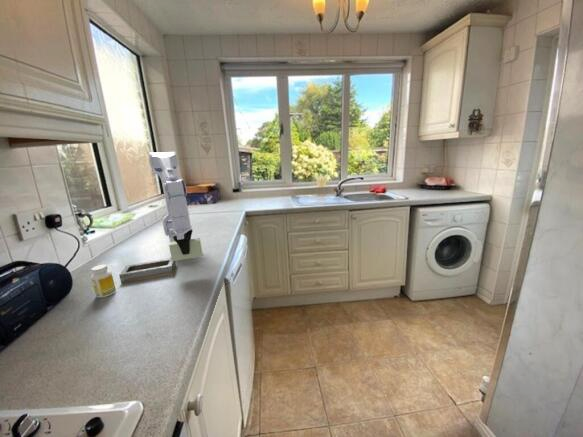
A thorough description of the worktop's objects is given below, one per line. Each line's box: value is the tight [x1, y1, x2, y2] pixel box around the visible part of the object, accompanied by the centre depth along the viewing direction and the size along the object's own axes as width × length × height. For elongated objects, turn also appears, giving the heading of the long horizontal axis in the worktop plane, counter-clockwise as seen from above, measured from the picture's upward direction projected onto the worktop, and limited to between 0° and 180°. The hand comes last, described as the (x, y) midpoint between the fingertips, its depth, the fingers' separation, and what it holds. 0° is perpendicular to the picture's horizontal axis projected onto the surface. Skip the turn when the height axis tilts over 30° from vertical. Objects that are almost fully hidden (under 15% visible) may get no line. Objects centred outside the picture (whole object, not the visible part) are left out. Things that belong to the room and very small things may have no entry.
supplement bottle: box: [90, 264, 117, 299], centre depth 82 cm, size 5×5×10 cm
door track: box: [119, 257, 177, 284], centre depth 95 cm, size 8×17×3 cm, turn 106°
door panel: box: [168, 237, 203, 262], centre depth 90 cm, size 3×10×6 cm, turn 106°
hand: (186, 252), depth 90 cm, fingers closed on door panel, 3 cm apart
